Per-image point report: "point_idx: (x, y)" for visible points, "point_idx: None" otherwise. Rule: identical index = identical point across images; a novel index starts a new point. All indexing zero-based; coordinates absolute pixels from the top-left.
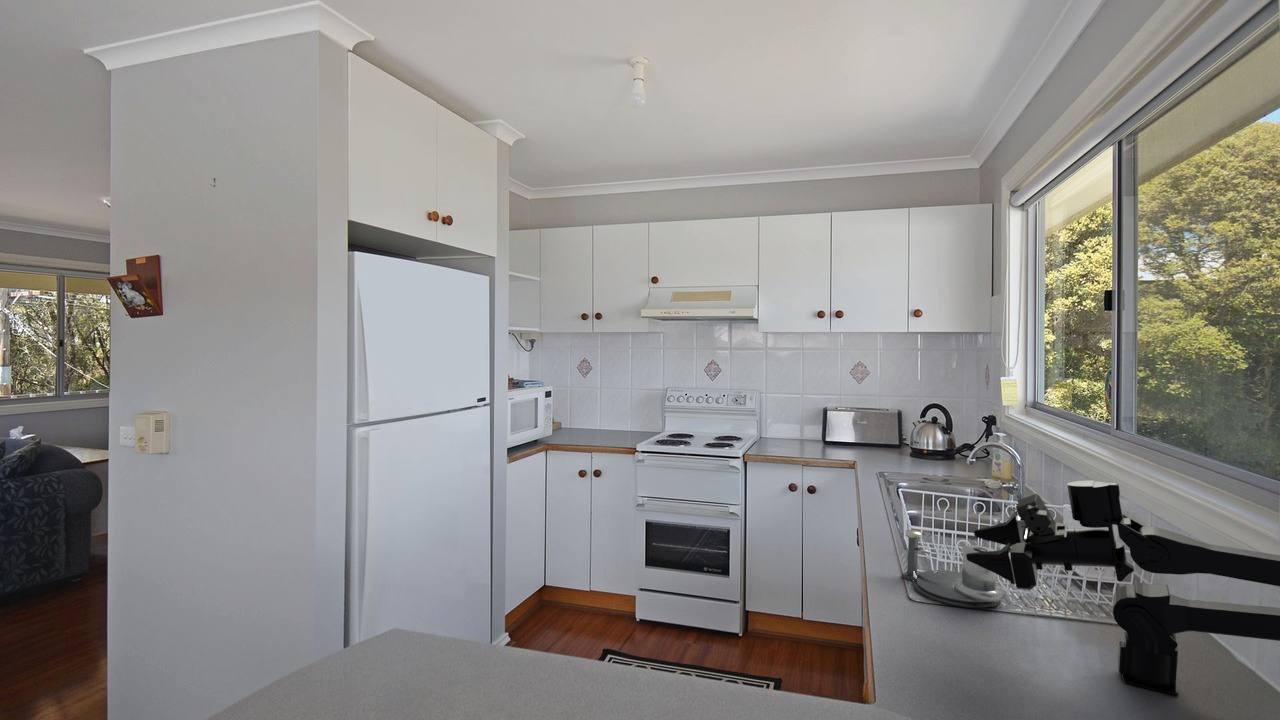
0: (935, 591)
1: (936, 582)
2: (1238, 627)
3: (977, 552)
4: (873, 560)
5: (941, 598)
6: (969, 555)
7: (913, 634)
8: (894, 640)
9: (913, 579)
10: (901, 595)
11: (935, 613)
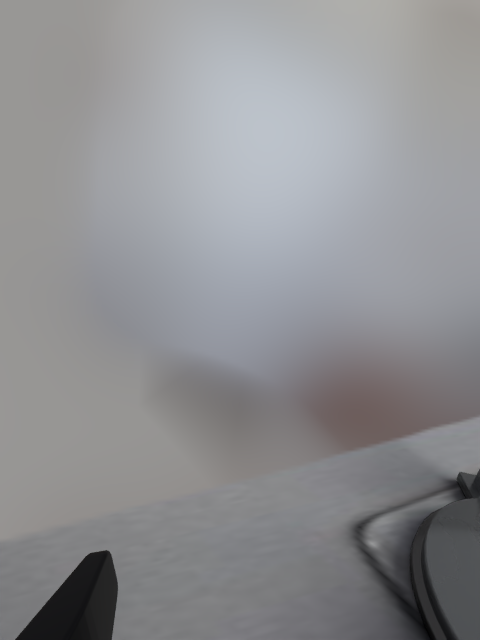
0: (429, 568)
1: None
2: None
3: (60, 629)
4: (472, 422)
5: (429, 600)
6: (72, 578)
7: None
8: (45, 564)
9: None
10: (360, 504)
11: (329, 616)
